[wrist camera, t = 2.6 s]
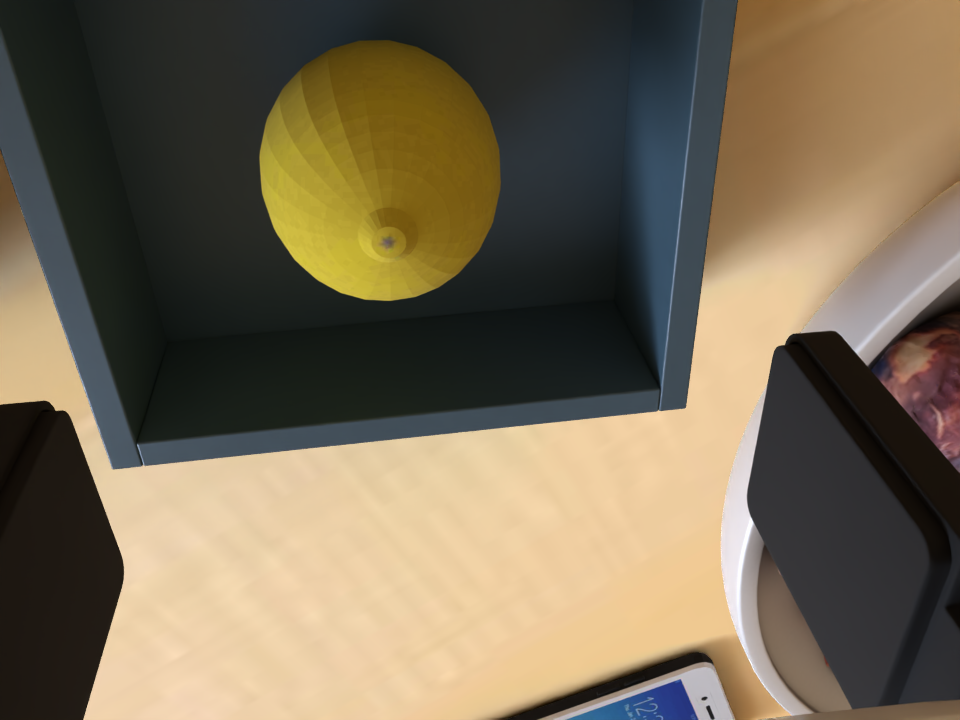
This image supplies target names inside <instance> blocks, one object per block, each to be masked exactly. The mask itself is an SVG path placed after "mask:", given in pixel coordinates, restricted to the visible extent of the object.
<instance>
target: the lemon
mask: <svg viewBox="0 0 960 720" xmlns="http://www.w3.org/2000/svg"><path fill="white" fill-rule="evenodd" d="M259 158H260V173H261V188H262V194H263V198H264V201H265V204H266V207H267V210H268V213H269V216H270V219H271V221H272V224H273V227H274V229H275V231H276V233H277V235H278V236H279V238H280V239H281V240H282V242H283V243H284V245H285V246H286V248H287V249H288V251H289V252H290V254H291V255H292V257H293V258H294V260H295V261H297V262H298V263H299V264H300V265H301V266H302V267H303V268H304V269H305V270H307V271H308V272H309V273H310V274H311V275H312V276H313V277H314V278H316V279H317V280H318V281H320V282H322V283H324V284H326V285H327V286H329V287H331V288H333V289H335V290H336V291H338V292H340V293H343V294H347V295H351V296H354V297H358V298H361V299H365V300H383V301H393V300H399V299H405V298H411V297H416V296H419V295H421V294H424V293H426V292H429V291H431V290H433V289H436V288H438V287H440V286H441V285H443V284H444V283H446V282H447V281H448V280H450V279H451V278H453V277H454V276H456V275H457V274H458V273H459V272H460V271H461V270H462V269H463V268H464V267H465V266H466V265H467V263H468V262H469V261H470V260H471V259H472V258H473V257H474V256H475V254H476V253H477V252H478V251H479V249H480V247H481V245H482V243H483V241H484V239H485V238H486V236H487V234H488V232H489V230H490V228H491V226H492V223H493V220H494V215H495V211H496V206H497V202H498V197H499V193H500V186H501V179H500V154H499V147H498V143H497V140H496V137H495V134H494V131H493V127H492V124H491V121H490V118H489V115H488V113H487V111H486V110H485V108H484V107H483V105H482V103H481V102H480V100H479V99H478V97H477V96H476V94H475V92H474V91H473V89H472V88H471V86H470V85H469V84H468V83H467V82H466V81H465V80H464V79H463V78H462V77H461V76H460V75H459V74H458V73H457V72H455V71H454V70H453V69H452V68H451V67H450V66H449V65H448V64H447V63H446V62H444V61H442V60H441V59H439V58H437V57H435V56H433V55H431V54H429V53H428V52H426V51H424V50H422V49H420V48H418V47H415V46H411V45H407V44H403V43H399V42H394V41H390V40H369V41H356V42H353V43H349V44H346V45H342V46H339V47H335V48H332V49H330V50H328V51H327V52H325V53H323V54H322V55H320V56H318V57H317V58H315V59H314V60H312V61H310V62H309V63H307V64H306V65H304V66H303V67H302V68H301V70H300V71H299V72H298V73H297V74H296V75H295V76H294V77H293V78H292V79H291V80H290V81H289V82H288V83H287V84H286V85H285V87H284V88H283V89H282V91H281V93H280V95H279V96H278V98H277V100H276V102H275V104H274V106H273V108H272V110H271V112H270V114H269V116H268V118H267V121H266V124H265V129H264V134H263V139H262V144H261V149H260V157H259Z"/></svg>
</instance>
